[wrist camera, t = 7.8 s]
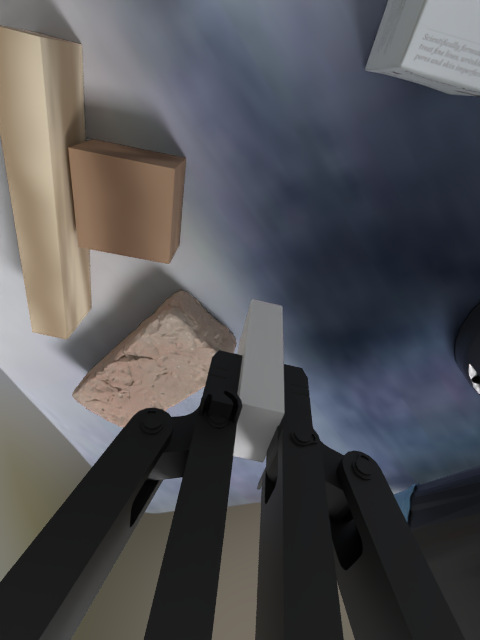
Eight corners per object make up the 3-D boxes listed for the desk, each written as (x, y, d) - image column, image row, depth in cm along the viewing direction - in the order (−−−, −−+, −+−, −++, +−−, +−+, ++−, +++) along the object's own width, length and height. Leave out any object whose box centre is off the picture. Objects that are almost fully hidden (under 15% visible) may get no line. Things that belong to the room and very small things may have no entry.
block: (186, 157, 26) (174, 168, 23) (180, 243, 30) (169, 264, 27) (93, 138, 26) (68, 147, 23) (99, 228, 30) (78, 246, 27)
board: (82, 44, 23) (40, 37, 18) (91, 308, 35) (67, 339, 30) (35, 32, 22) (-18, 21, 18) (60, 301, 34) (32, 332, 30)
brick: (179, 283, 33) (166, 311, 29) (241, 337, 36) (237, 369, 32) (87, 368, 40) (67, 399, 36) (145, 406, 43) (132, 439, 39)
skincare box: (362, 71, 22) (396, 68, 16) (408, -64, 19) (472, -130, 13) (451, 95, 23) (516, 101, 17) (512, -33, 19) (622, -83, 13)
